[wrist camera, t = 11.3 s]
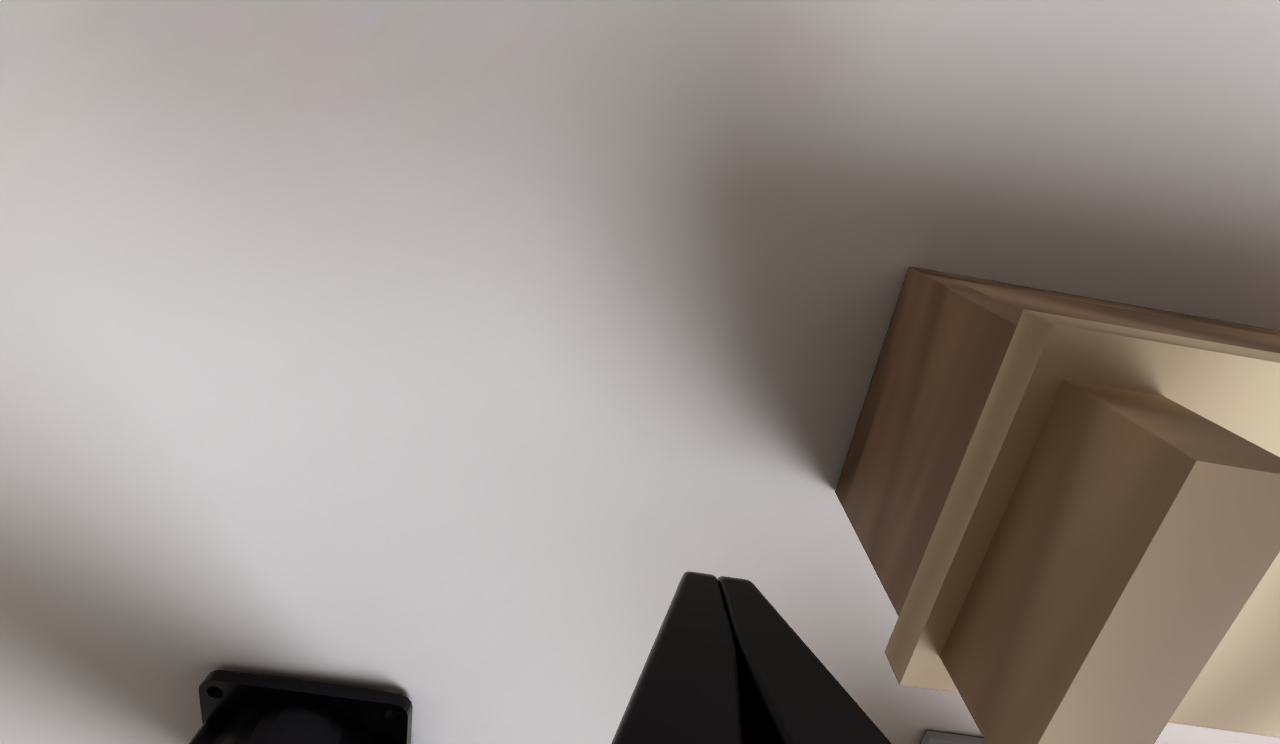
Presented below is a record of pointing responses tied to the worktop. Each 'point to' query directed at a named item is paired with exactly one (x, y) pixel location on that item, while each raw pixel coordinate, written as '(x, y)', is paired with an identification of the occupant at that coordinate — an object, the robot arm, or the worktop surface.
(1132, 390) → the lid
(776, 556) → the worktop surface
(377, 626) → the worktop surface
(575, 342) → the worktop surface
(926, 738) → the felt pad
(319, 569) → the worktop surface
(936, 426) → the toolbox
